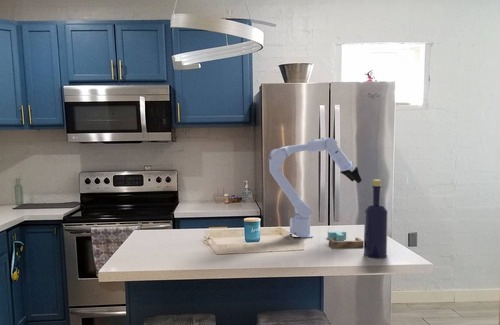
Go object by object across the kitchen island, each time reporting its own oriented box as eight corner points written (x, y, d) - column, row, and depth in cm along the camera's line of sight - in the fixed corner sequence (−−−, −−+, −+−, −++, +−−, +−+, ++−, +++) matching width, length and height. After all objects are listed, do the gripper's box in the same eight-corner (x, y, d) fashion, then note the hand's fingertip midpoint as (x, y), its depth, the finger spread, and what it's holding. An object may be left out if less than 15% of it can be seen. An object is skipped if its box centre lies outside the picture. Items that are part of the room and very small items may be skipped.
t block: (332, 241, 166) (332, 235, 166) (327, 237, 173) (327, 231, 173) (350, 241, 167) (350, 234, 167) (344, 237, 174) (344, 230, 174)
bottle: (384, 251, 151) (385, 178, 149) (390, 258, 142) (392, 181, 140) (361, 251, 152) (362, 178, 150) (365, 258, 143) (367, 181, 141)
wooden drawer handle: (333, 247, 157) (333, 242, 156) (328, 243, 163) (328, 238, 163) (363, 247, 158) (363, 241, 158) (357, 243, 164) (358, 237, 164)
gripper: (352, 154, 169) (369, 177, 171) (341, 153, 184) (357, 174, 185) (340, 163, 169) (357, 186, 170) (330, 161, 183) (346, 183, 185)
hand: (356, 180), depth 178 cm, fingers open, 7 cm apart
